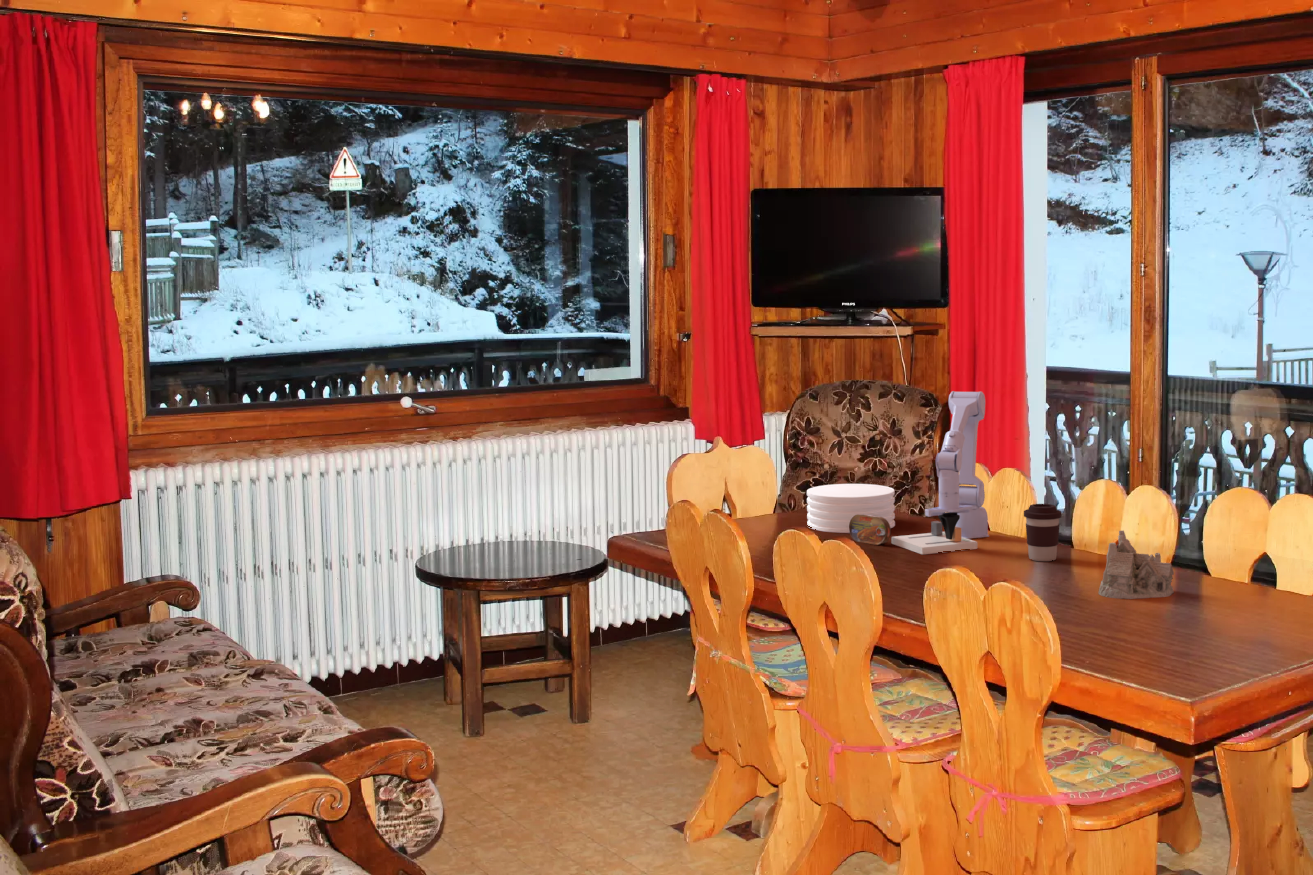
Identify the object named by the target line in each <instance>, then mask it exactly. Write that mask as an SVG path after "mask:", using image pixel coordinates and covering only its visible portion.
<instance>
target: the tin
mask: <svg viewBox="0 0 1313 875" xmlns="http://www.w3.org/2000/svg"><path fill="white" fill-rule="evenodd" d="M849 531H850V533H849V534H850V537H851V538H852V540H854V541H855V542H856V543H862V544H867V545H868V544H869V545H873V546H880V545H884V544H886V543H887V542H888V541H889V540H890V538H891V528H890V525H889V523H888V521H887V520H886V519H885V518H883V517H877V516H870V515H855V516H853V517H852V519H851V520H850V523H849Z"/></svg>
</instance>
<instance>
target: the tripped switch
mask: <svg viewBox="0 0 1313 875" xmlns="http://www.w3.org/2000/svg"><path fill="white" fill-rule="evenodd" d="M950 540H952V541H955V542H957V541H961V528H960V527H956V526H955V529H954V532H953V535H952V539H950Z"/></svg>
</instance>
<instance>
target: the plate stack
mask: <svg viewBox="0 0 1313 875" xmlns="http://www.w3.org/2000/svg"><path fill="white" fill-rule="evenodd" d="M895 491H896V490H895V489H894V488H893V487H891V486H890V487H889V486H887V485H881V484H880V485H879V484H872V483H871V484H870V483H836V484H824V485H818V486H813V487H810V488H808V489H807V490H806V496H807V498H806V503H807V505H806V511H807V513H806V514H807V515H806V519H807V521H806V522H807V525H808V526H810V527H812V528H810V527H808V526H807V525H806V526H807V527H808V528H809V529H812V530H815V529H816V530H815V531H820V532H827V533H838V534H840V533H841V534H850V531H849V523H850V520H851V519H852V517H853V516H855V515H870V516H877V517H883V518H885V519H886V520H887V521H888V523H889V525H890V529H892V528H894V527H895V526H896V521H895V520H894V519H895V518H896V516H895V515H896V514H895V512H894V511H895V509H896V506H895V504H894V503H895V502H896V500H895V499H896V498H895Z"/></svg>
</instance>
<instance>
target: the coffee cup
mask: <svg viewBox="0 0 1313 875" xmlns="http://www.w3.org/2000/svg"><path fill="white" fill-rule="evenodd" d="M1023 517H1024V518H1025V519H1026V520H1025V521H1026V522H1025V530H1026V532H1025V533H1026V543H1027V551H1028V559H1030V560H1031V559H1032V560H1031V561H1035V562H1053V561H1055V560H1056V559H1057V554H1058V545H1059V534H1060V519H1061V518H1062V510H1060V509H1059V510H1058V509H1057V506H1056V505H1054V504H1051V503H1032V504H1030V505H1029V506H1028V509H1024V511H1023ZM1052 560H1053V561H1052Z"/></svg>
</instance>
